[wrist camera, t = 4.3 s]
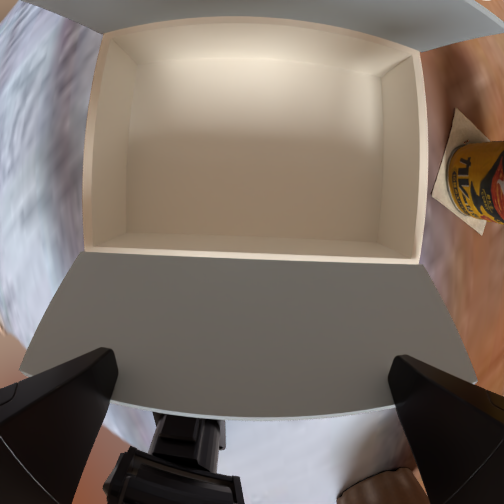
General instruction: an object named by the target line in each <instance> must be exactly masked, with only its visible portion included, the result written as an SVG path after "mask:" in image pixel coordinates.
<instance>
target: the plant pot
mask: <svg viewBox="0 0 504 504" xmlns="http://www.w3.org/2000/svg"><path fill="white" fill-rule="evenodd" d="M337 504H430V502H429V499H428V496H427V495H426V493H425V492H424V490H423V488H422V487H421V485H420V484H419V482H418V481H417V479H416V478H415V476H414V474H413V473H412V471H411V470H410V469H408V468H399V469H397V471H386V472H383V473H380V474H377V475H375V476H372V477H370V478H367V479H365V480H363V481H361V482H359V483H357V484H356V485H354V486H352V487H351V488H349V489H348V490H346V491H345V492H343V495H342V497H339V498H338V499H337Z"/></svg>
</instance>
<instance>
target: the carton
mask: <svg viewBox="0 0 504 504" xmlns="http://www.w3.org/2000/svg"><path fill="white" fill-rule="evenodd" d="M427 182H428V125H427V109H426V97H425V87H424V79H423V72H422V65H421V59H420V53H419V51H417V50H415V49H412V48H410V47H407V46H404V45H401V44H398V43H395V42H392V41H389V40H386V39H383V38H380V37H376V36H373V35H369V34H366V33H362V32H358V31H354V30H350V29H345V28H341V27H336V26H331V25H326V24H320V23H314V22H307V21H300V20H292V19H282V18H270V17H251V16H217V17H198V18H186V19H176V20H168V21H161V22H154V23H148V24H143V25H138V26H133V27H128V28H123V29H119V30H115V31H111V32H107V33H104V35H103V39H102V42H101V46H100V50H99V54H98V58H97V63H96V67H95V72H94V77H93V82H92V88H91V94H90V100H89V107H88V114H87V123H86V132H85V143H84V158H83V185H82V205H83V233H84V248H85V252H101V253H121V254H143V255H165V256H188V257H212V258H237V259H263V260H290V261H319V262H349V263H382V264H418V265H419V259H420V253H421V246H422V239H423V231H424V222H425V212H426V199H427Z"/></svg>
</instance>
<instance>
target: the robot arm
mask: <svg viewBox="0 0 504 504" xmlns="http://www.w3.org/2000/svg"><path fill="white" fill-rule="evenodd" d="M117 378H118V366H117V362H116V358H115V353H114V351H113V350H112V349H111V348H106V347H99V348H97V349H95V350H92V351H90V352H88V353H86V354H83V355H81V356H79V357H76V358H74V359H72V360H69V361H67V362H65V363H62V364H60V365H58V366H55V367H53V368H51V369H48V370H46V371H43V372H41V373H39V374H36V375H34V376H31V377H29V378H27V379H24V380H22V381H19V382H18V383H14V384H12V385H9V386H7V387H4V388H1V389H0V504H72V501H73V498H74V495H75V492H76V489H77V487H78V484H79V481H80V478H81V475H82V472H83V470H84V467H85V465H86V462H87V460H88V457H89V454H90V452H91V449H92V447H93V444H94V442H95V439H96V437H97V435H98V432H99V430H100V427H101V425H102V423H103V420H104V418H105V415H106V413H107V410H108V407H109V404H110V400H111V397H112V394H113V390H114V387H115V384H116V381H117ZM388 384H389V387H390V390H391V394H392V397H393V400H394V404H395V407H396V411H397V414H398V417H399V420H400V422H401V425H402V427H403V430H404V432H405V435H406V437H407V440H408V442H409V445H410V448H411V450H412V453H413V456H414V458H415V461H416V464H417V466H418V469H419V472H420V475H421V478H422V481H423V483H424V486H425V489H426V492H427V495H428V499H429V502H430V504H504V397H503V396H501V395H498V394H496V393H493V392H491V391H489V390H485V389H484V388H481V387H479V386H477V385H474V384H472V383H470V382H467V381H465V380H463V379H461V378H458V377H456V376H454V375H451V374H449V373H447V372H445V371H442V370H440V369H438V368H436V367H433V366H431V365H429V364H427V363H425V362H422V361H420V360H418V359H416V358H414V357H411V356H409V355H407V354H403V355H397V356H395V357H394V359H393V362H392V365H391V368H390V371H389V374H388ZM153 416H154V420H155V423H156V430H155V433H154V436H153V439H152V442H151V445H150V448H149V451H148V453H145V452H143V451H140V450H137V448H135V447H132V446H130V448H129V450H128V452H125V453H121V454H120V456H119V459H118V461H117V463H116V466H115V468H114V469H113V471H112V472H111V474H110V475H109V477H108V478H107V480H106V481H105V483H104V485H103V491H104V492H105V494H106V495H107V502H108V504H245V503H244V498H243V493H242V487H241V482H240V477H238V476H227V475H222V474H217V463H218V452H219V450H224V449H225V447H226V439H225V420H219V419H206V418H195V417H186V416H178V415H171V414H164V413H158V412H153Z"/></svg>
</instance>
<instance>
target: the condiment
mask: <svg viewBox="0 0 504 504" xmlns="http://www.w3.org/2000/svg"><path fill="white" fill-rule="evenodd" d="M466 140H469V142H466ZM464 142H466V144H464ZM432 197H433V198H435V199H436V200H438V201H439V202H440V203H441V204H443V205H444V206H446V207H447V208H448V209H449V210H450V211H452V212H453V213H454V214H456V215H457V216H458V217H459V218H461V219H462V220H463V221H465V222H466V223H467V224H468V225H469V226H471V227H472V228H474V229H475V230H476V231H477V232H478V233H479V234H480V235H482V234H483V231H484V228H485V225H486V221H488V222H495V223H499V224H503V225H504V141H492V142H491V141H490V140H489V139H488V138H487V137H486V136H485V135H484V134H483V133H482V132H481V131H480V130H479V129H477V128H476V126H475V125H474V124H473V123H472V122H471V121H470V120H468V119H467V118H466V117H465V116H464V115H463V114H462V113H461V112H460V111H459V110H458V109H457V108H456V110H455V115H454V119H453V125H452V128H451V132H450V137H449V140H448V144H447V147H446V150H445V153H444V156H443V160H442V163H441V166H440V170H439V173H438V176H437V180H436V182H435V185H434V189H433V192H432Z"/></svg>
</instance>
